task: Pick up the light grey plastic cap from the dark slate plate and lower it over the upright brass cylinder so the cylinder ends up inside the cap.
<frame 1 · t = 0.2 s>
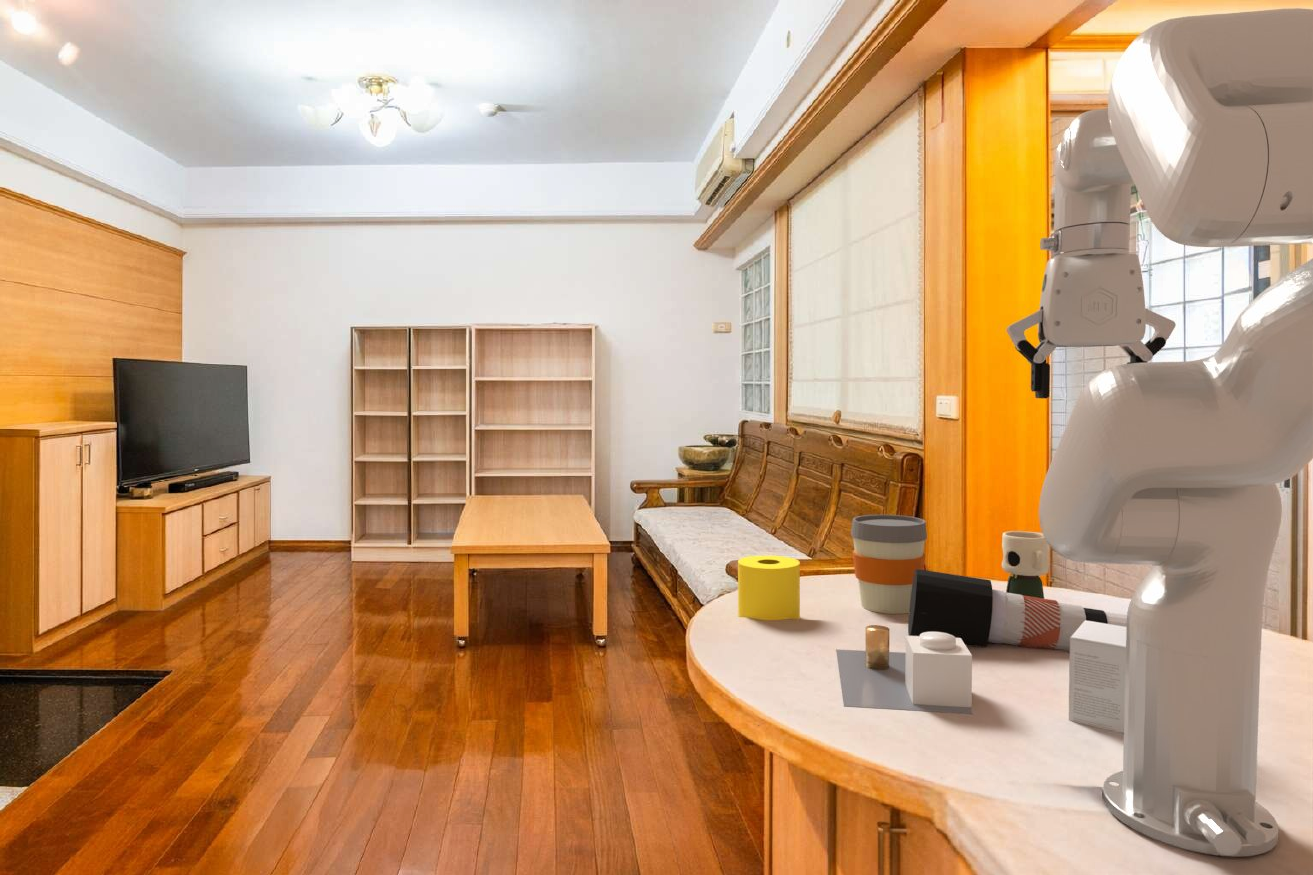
hand: (1087, 397, 90), 36 cm above the table, tool pointing down, fingers open, 9 cm apart
small box: (1102, 727, 87), on the table
brass cylinder: (877, 666, 103), resting on plate
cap: (937, 694, 93), point 1 cm above the table, touching plate
tape roll: (768, 619, 129), on the table
character mug: (1024, 612, 131), on the table
reusable coffee cup: (888, 607, 135), on the table
plate: (896, 687, 98), on the table
black and white bottle: (1035, 653, 111), on the table
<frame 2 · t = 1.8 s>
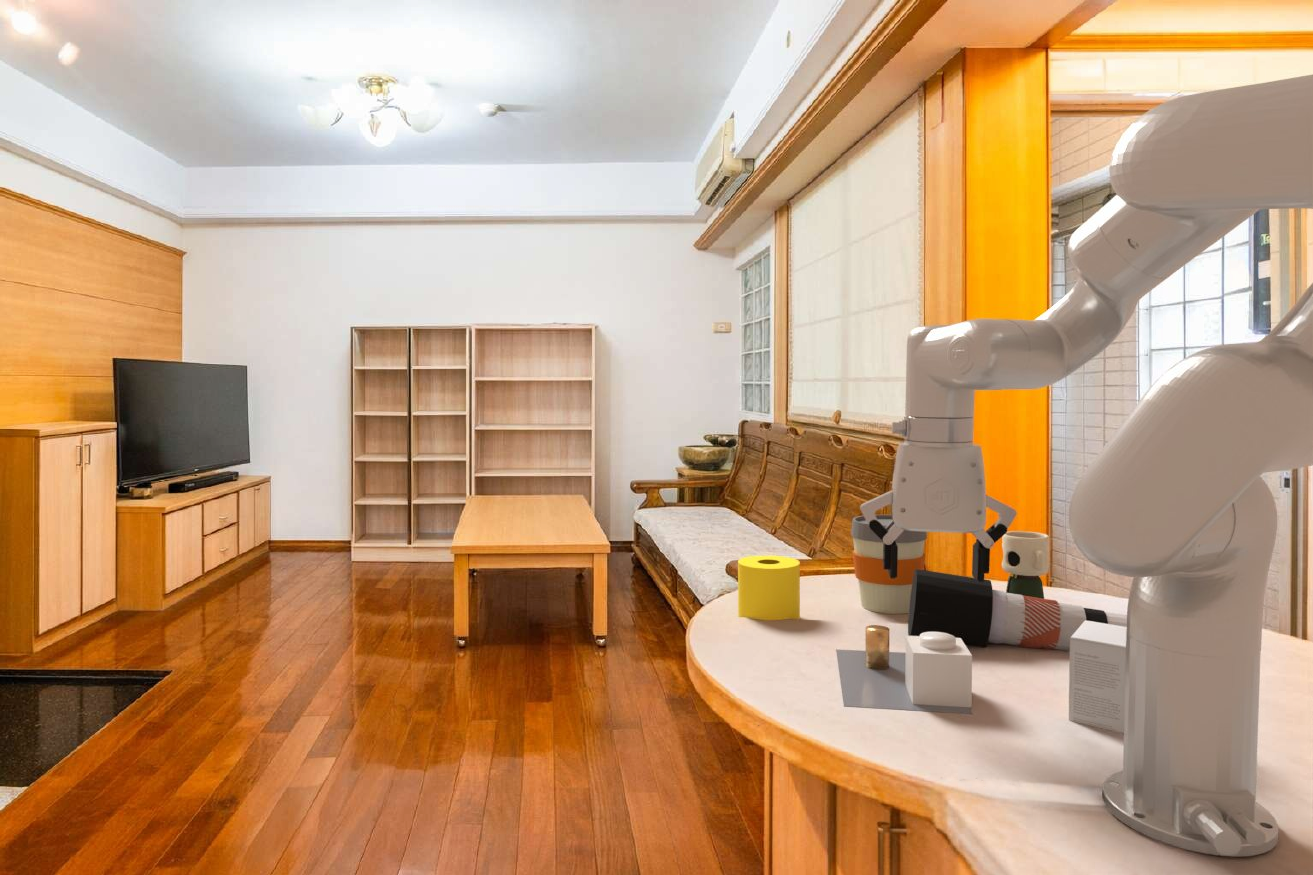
hand: (934, 577, 92), 15 cm above the table, tool pointing down, fingers open, 9 cm apart
nothing on the table moved.
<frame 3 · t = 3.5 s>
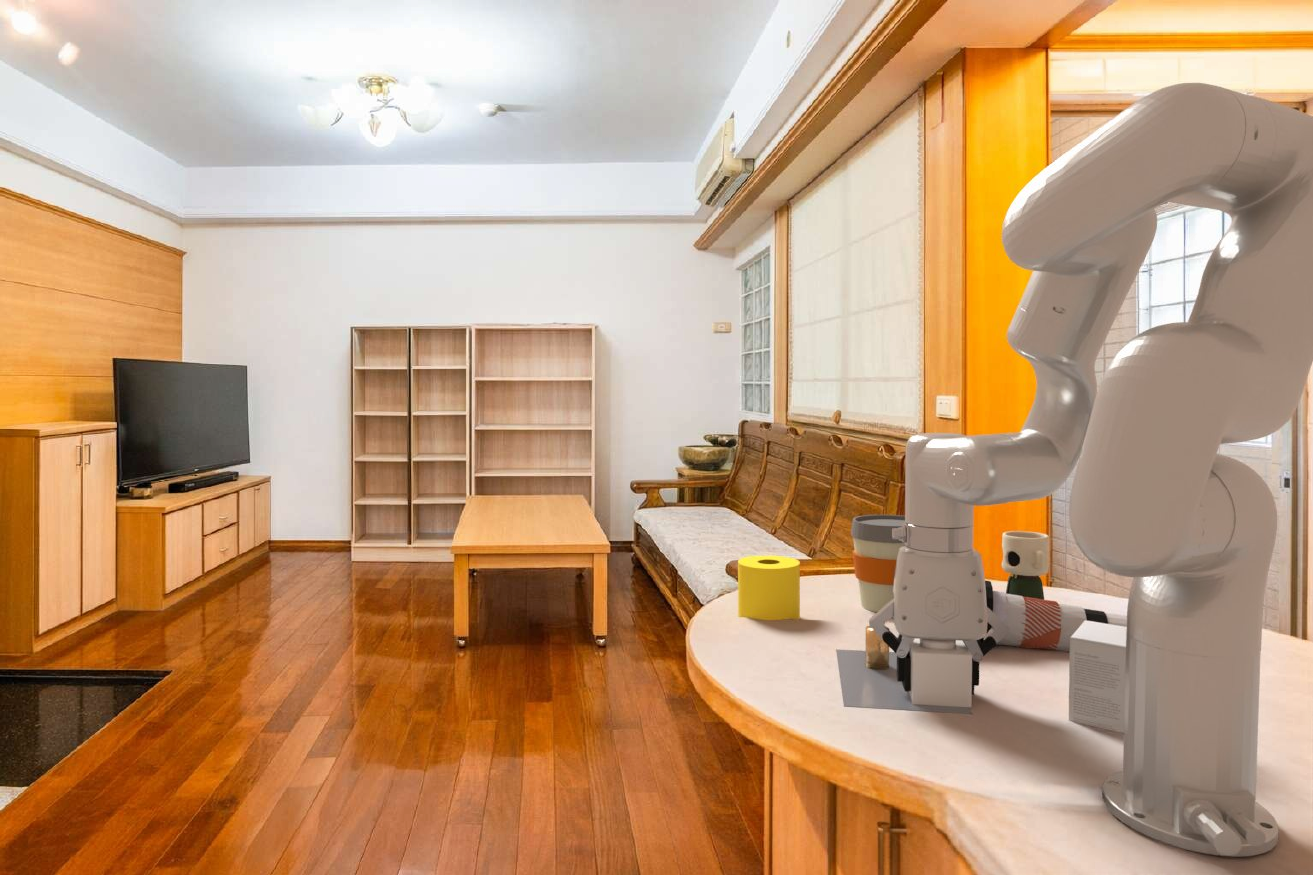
hand: (937, 687, 93), 2 cm above the table, tool pointing down, fingers closed on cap, 6 cm apart
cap: (937, 694, 93), point 1 cm above the table, touching gripper, plate
everything else where it was.
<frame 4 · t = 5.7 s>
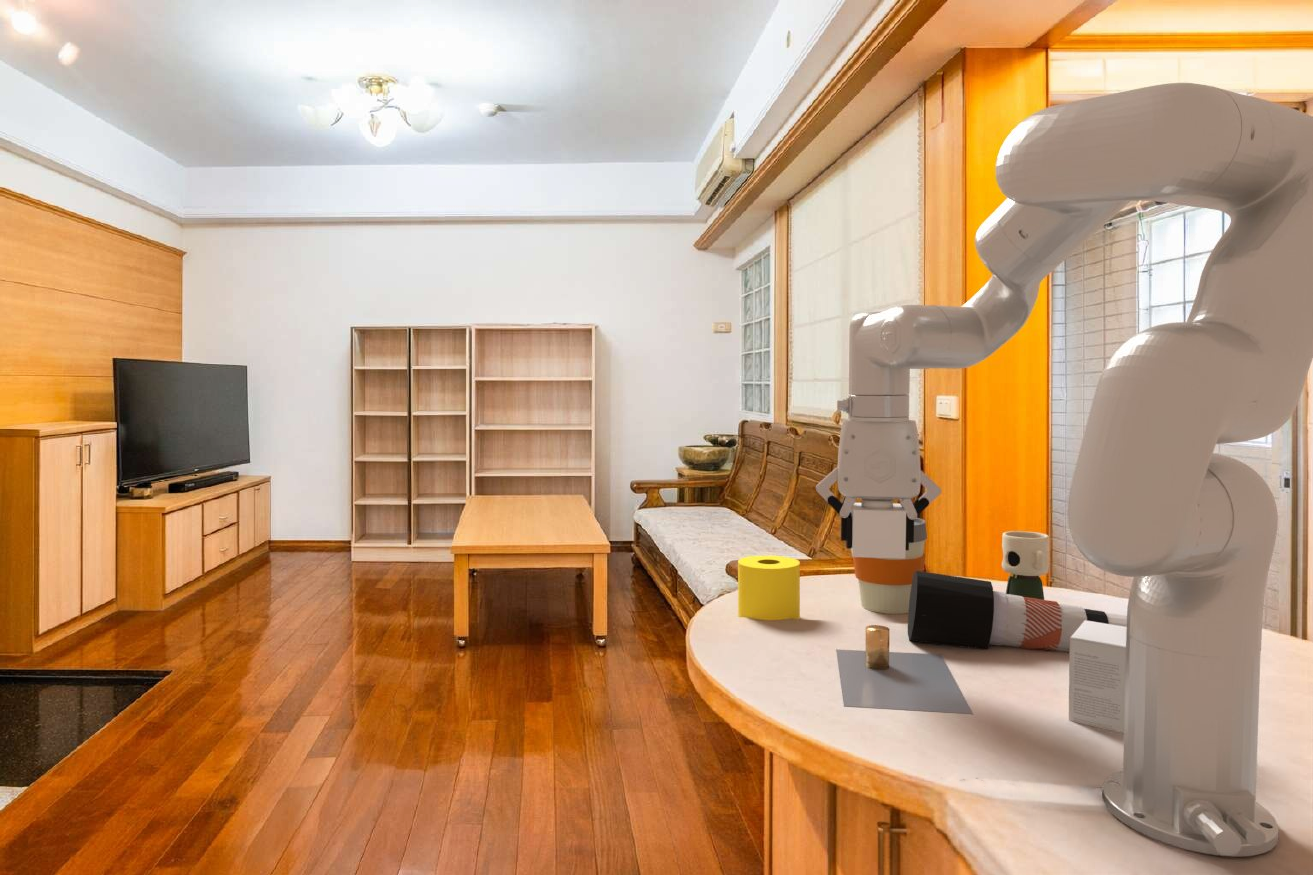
hand: (876, 546, 102), 17 cm above the table, tool pointing down, fingers closed on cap, 6 cm apart
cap: (876, 552, 102), point 16 cm above the table, touching gripper
everything else where it was.
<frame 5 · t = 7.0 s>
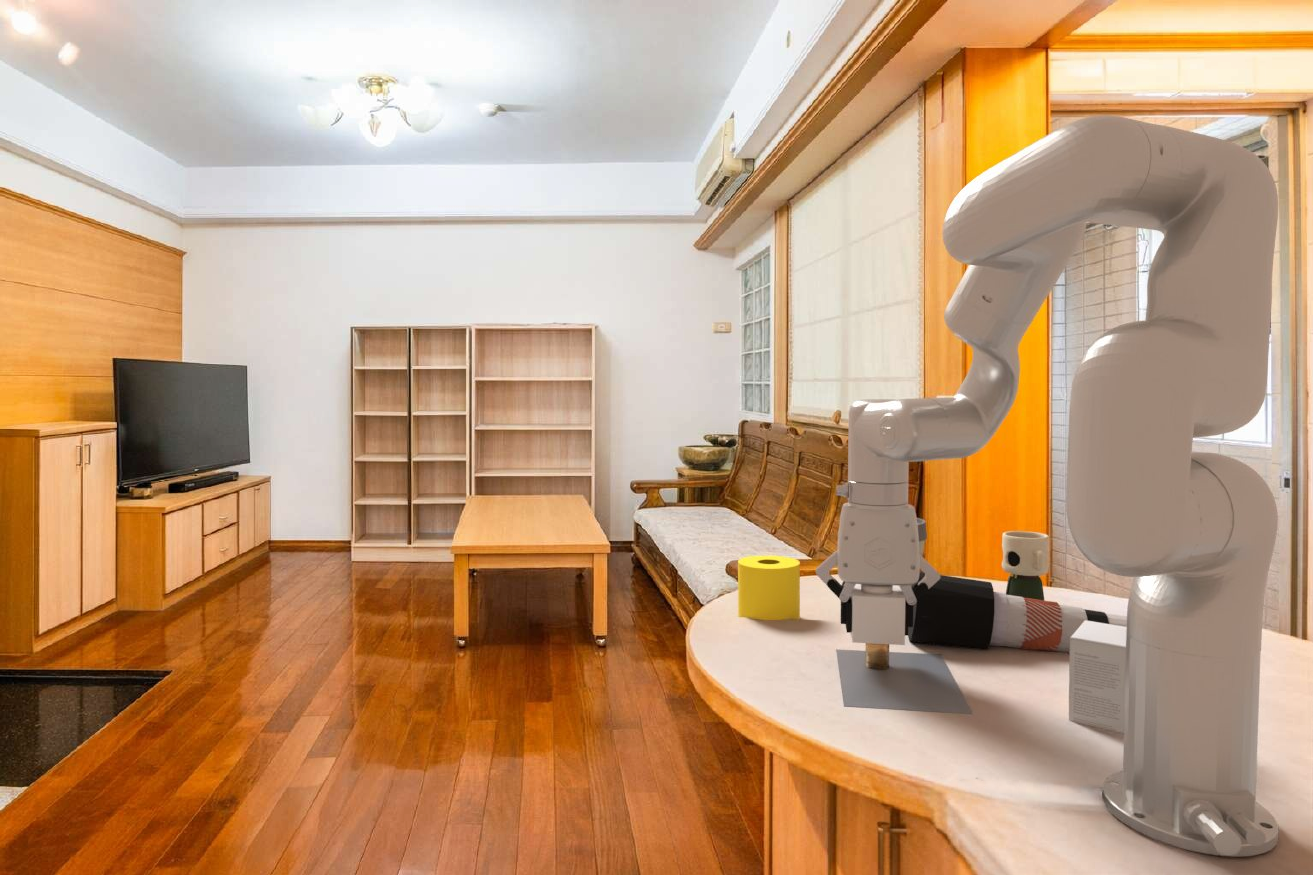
hand: (876, 629, 102), 6 cm above the table, tool pointing down, fingers closed on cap, 6 cm apart
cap: (876, 635, 103), point 5 cm above the table, touching gripper
everything else where it was.
when the fingers open (3 cm above the table, at t = 7.9 s): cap drops 1 cm, resting on plate.
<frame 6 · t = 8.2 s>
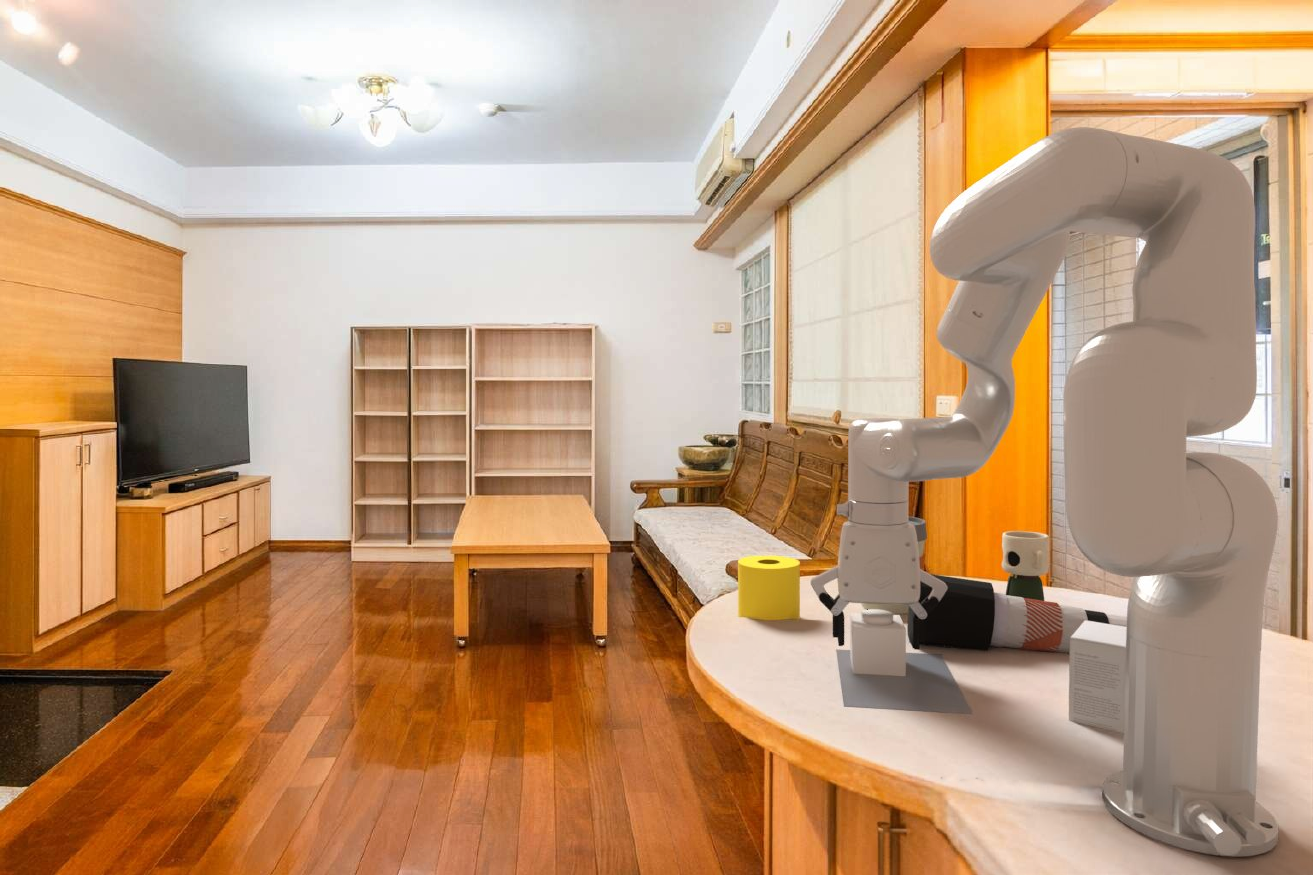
hand: (877, 644, 102), 4 cm above the table, tool pointing down, fingers open, 9 cm apart
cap: (876, 666, 103), point 1 cm above the table, touching plate
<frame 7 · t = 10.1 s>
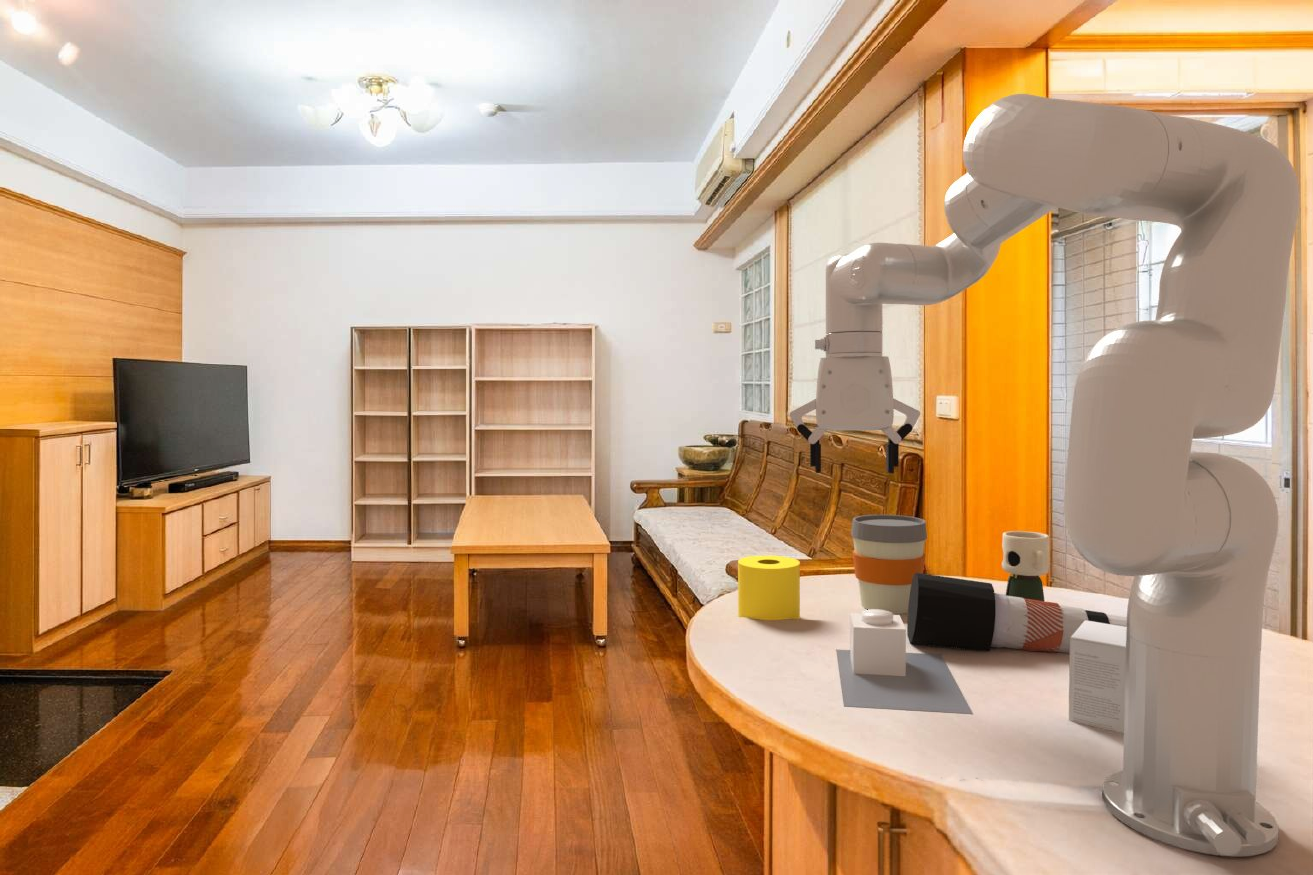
hand: (853, 472, 108), 26 cm above the table, tool pointing down, fingers open, 9 cm apart
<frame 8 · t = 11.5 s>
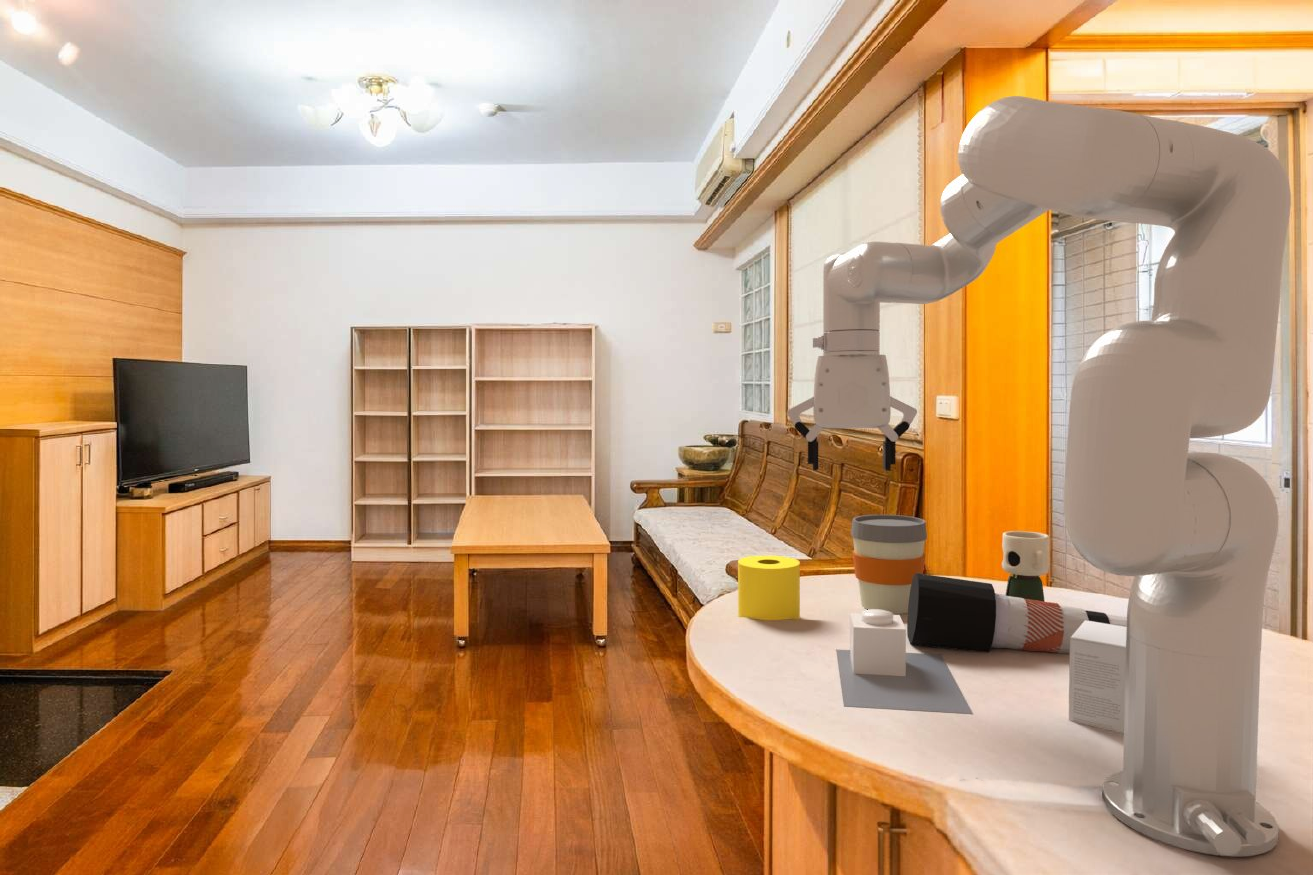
hand: (850, 469, 108), 26 cm above the table, tool pointing down, fingers open, 9 cm apart
at the end: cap 0.0 cm off-centre on the brass cylinder, point 0.0 cm above the brass cylinder's base; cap tilted 0°; the gripper is holding nothing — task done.
